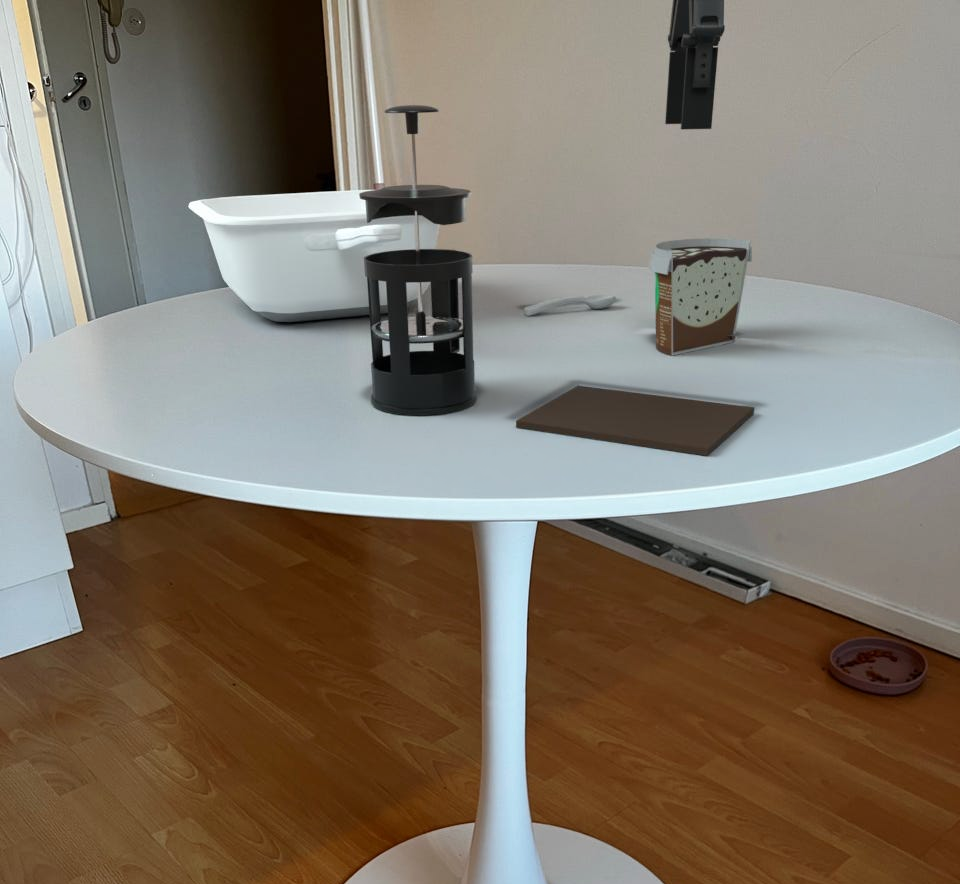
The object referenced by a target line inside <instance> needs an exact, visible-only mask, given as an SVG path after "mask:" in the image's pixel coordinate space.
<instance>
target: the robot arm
mask: <svg viewBox="0 0 960 884" xmlns="http://www.w3.org/2000/svg"><path fill="white" fill-rule="evenodd" d="M724 21H725V0H672V5H671V15H670V23H669V33H668V35H667V42H668V45H669V46H668V47H669V49H670V51H669V58H668V74H667V91H666V105H665V106H666V107H665V118H664V119H665V120H664V122H665V123H664V125H680V130H712V125H713V116H714V115H713V114H714V113H713V112H714V102H715V101H714V100H715V92H716V91H715V90H716V79H717V77H716V76H717V69H718V68H717V67H718V56H719V43H720V42H721V37H723V35H724V33H725V29H726V28H725V27H726V26H725V23H724Z"/></svg>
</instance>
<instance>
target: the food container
mask: <svg viewBox="0 0 960 884" xmlns="http://www.w3.org/2000/svg"><path fill="white" fill-rule="evenodd" d="M751 242H752V241H751V240H750V239H741V238H740V239H739V238H721V237H719V238H718V237H710V238H708V237H706V238H704V237H703V238H682V239H681V238H680V239H672V240H666V241H661V242H658V243H656V244H655V245H654V250H652V251H651V255H650V257H649V258H650V259H649V263H648V266H647V268H648V270H650V271H652V272H654V299H655V300H654V302H655V303H654V304H655V307H654V309H655V348H656V350H657V351H658V352H660V353H662V354H664V355H667V356H677V355H681V354H686V353H691V352H695V351H699V350H705V349H707V348H708V349H709V348H714V347H719V346H722V345H723V346H724V345H728V344H732V343H735V338H736V336H735V335H736V333H737V327H738V321H739V314H740V309H741V302H742V297H743V289H744V284H745V279H746V275H747V274H746V273H747V266H748V262H753V254H752V253H753V251H752V246H751Z"/></svg>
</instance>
